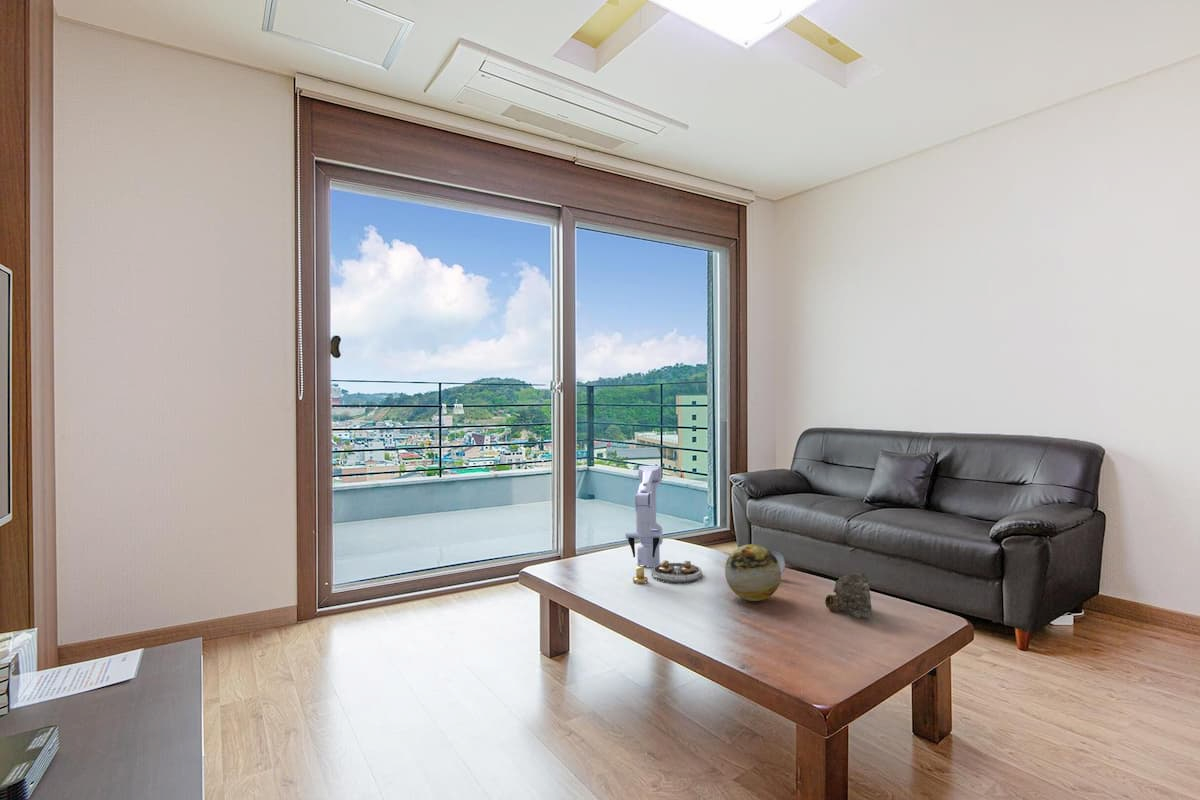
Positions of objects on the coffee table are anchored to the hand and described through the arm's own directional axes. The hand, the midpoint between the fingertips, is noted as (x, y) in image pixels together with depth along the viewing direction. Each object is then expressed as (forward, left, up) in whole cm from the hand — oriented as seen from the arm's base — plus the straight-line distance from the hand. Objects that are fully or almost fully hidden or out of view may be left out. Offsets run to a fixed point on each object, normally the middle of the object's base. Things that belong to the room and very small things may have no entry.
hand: (643, 556), depth 244 cm
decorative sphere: (+44, -1, -11) cm, 45 cm away
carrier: (+8, +14, -10) cm, 19 cm away
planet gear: (-2, 0, -10) cm, 10 cm away
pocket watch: (+43, +23, -11) cm, 49 cm away
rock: (+77, 0, -11) cm, 78 cm away
